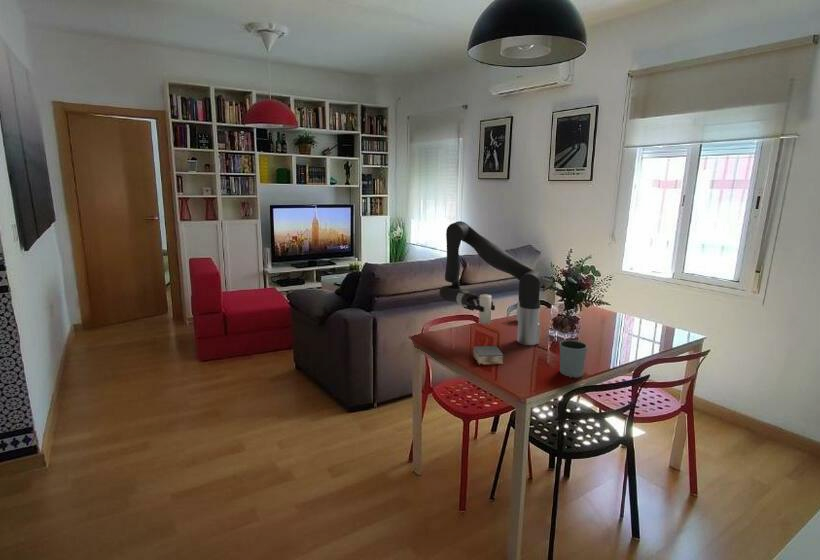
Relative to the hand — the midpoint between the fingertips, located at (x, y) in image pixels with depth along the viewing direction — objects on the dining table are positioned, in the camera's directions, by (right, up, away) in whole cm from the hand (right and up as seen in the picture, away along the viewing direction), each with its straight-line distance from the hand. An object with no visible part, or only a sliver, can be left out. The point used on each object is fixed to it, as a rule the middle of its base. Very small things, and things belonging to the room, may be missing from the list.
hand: (488, 308), depth 199 cm
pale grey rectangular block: (-1, -6, +4) cm, 7 cm away
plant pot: (+29, -24, -21) cm, 43 cm away
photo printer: (+27, -10, +43) cm, 51 cm away
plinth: (-2, -21, -8) cm, 23 cm away
